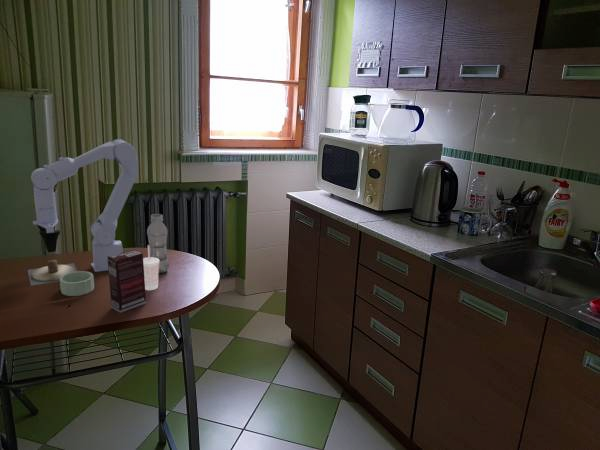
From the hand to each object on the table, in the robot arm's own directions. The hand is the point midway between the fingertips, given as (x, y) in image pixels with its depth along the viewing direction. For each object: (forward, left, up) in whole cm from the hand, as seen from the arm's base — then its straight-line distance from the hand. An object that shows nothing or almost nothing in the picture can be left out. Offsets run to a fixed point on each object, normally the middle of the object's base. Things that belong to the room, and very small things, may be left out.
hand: (50, 247), depth 151 cm
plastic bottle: (-31, +12, -10) cm, 35 cm away
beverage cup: (-25, +23, -10) cm, 35 cm away
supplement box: (-16, +33, -10) cm, 38 cm away
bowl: (-5, +16, -9) cm, 19 cm away
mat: (0, 0, -9) cm, 9 cm away
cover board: (0, 0, -9) cm, 9 cm away
